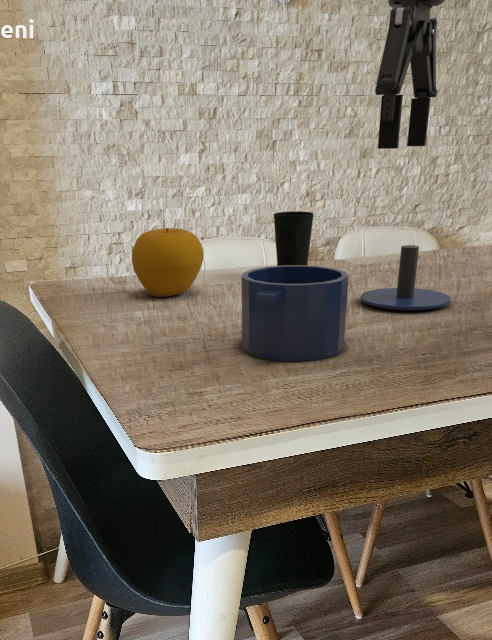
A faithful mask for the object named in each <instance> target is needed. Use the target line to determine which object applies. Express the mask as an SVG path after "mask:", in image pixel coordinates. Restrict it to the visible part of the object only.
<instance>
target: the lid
mask: <svg viewBox="0 0 492 640" xmlns="http://www.w3.org/2000/svg"><path fill="white" fill-rule="evenodd" d="M419 251H420V246H418V245H415V244H414V245H413V244H412V245H411V244H406V245H405V244H404V245H401V246H400V256H399V266H398V274H397V275H398V277H397V284H396V287H385V288H384V287H383V288H377V289H370V290H367V291H364V292H362V293H361V295H360V301H361V302H362V303H364V304H366V305H369V306H373V307H376V308H381V309H384V310H390V311H391V310H392V311H404V312H405V311H406V312H407V311H408V312H414V311H415V312H416V311H426V310H431V309H437V308H438V309H439V308H442V307H446V306H447V305H449V304H450V303H451V297H450V295H448V294H447V293H444V292H441V291H437V290H432V289H426V288H416V277H417V269H418V260H419V253H420V252H419Z"/></svg>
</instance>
